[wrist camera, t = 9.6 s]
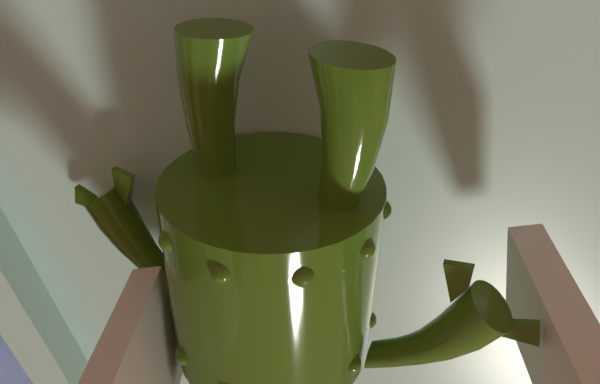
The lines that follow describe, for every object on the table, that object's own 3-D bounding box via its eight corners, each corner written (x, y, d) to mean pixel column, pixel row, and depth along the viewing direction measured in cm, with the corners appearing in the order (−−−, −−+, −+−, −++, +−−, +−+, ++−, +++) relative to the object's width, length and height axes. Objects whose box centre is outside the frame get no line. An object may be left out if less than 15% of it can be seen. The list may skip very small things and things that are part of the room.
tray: (123, 447, 22) (107, 496, 21) (-184, -81, 12) (-268, -70, 10) (634, 410, 20) (663, 462, 18) (796, -299, 10) (900, -335, 8)
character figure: (641, 179, 6) (448, 638, 12) (629, 49, 10) (488, 447, 16) (-72, 24, 10) (65, 424, 16) (123, -22, 14) (172, 315, 20)
